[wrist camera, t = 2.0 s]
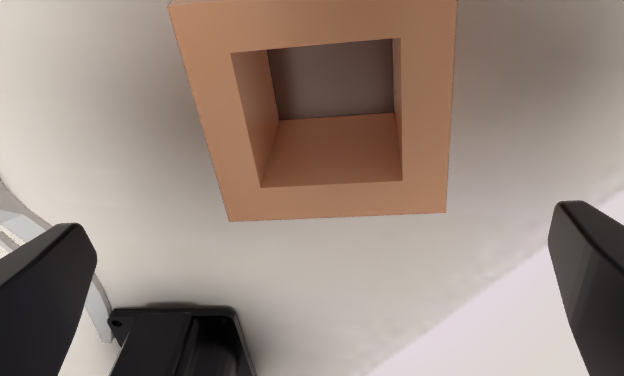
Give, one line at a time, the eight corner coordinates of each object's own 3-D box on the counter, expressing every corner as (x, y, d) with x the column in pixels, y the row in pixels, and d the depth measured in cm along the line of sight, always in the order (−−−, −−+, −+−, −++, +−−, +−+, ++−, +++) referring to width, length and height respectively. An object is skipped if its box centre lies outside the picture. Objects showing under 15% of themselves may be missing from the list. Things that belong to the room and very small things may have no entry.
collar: (429, 140, 17) (445, 212, 14) (252, 151, 18) (229, 221, 15) (434, -60, 13) (458, -25, 10) (210, -34, 14) (166, 6, 11)
